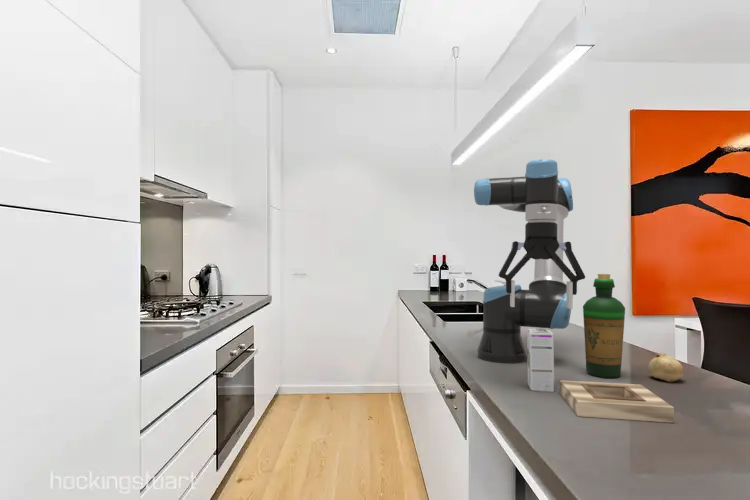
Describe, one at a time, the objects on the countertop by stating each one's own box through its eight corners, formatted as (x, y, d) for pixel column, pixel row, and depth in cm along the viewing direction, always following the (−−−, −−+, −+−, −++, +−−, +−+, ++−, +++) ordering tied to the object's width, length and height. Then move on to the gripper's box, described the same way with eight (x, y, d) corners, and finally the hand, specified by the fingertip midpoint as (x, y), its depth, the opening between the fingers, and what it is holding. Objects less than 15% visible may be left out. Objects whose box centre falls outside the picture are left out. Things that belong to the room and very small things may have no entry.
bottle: (584, 377, 122) (585, 274, 122) (580, 368, 132) (581, 273, 132) (629, 381, 119) (629, 275, 119) (621, 371, 129) (621, 273, 129)
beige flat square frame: (559, 392, 108) (559, 379, 108) (640, 397, 105) (640, 383, 105) (578, 416, 93) (578, 400, 93) (673, 422, 90) (673, 406, 90)
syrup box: (554, 392, 109) (555, 332, 109) (529, 390, 110) (529, 331, 110) (550, 385, 114) (550, 328, 114) (526, 384, 115) (526, 327, 116)
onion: (680, 378, 123) (680, 352, 123) (686, 385, 116) (686, 358, 116) (646, 374, 126) (646, 349, 126) (650, 381, 119) (650, 354, 119)
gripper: (491, 221, 111) (490, 307, 110) (599, 221, 106) (598, 310, 106) (488, 223, 118) (487, 304, 118) (589, 223, 114) (589, 307, 114)
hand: (540, 307), depth 112 cm, fingers open, 13 cm apart
